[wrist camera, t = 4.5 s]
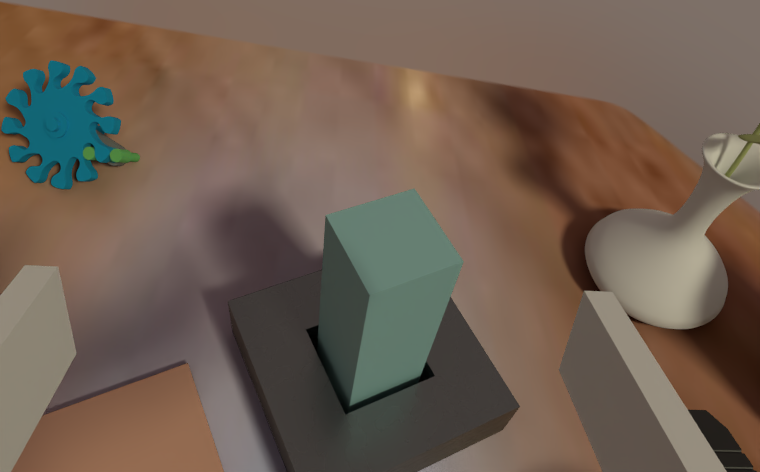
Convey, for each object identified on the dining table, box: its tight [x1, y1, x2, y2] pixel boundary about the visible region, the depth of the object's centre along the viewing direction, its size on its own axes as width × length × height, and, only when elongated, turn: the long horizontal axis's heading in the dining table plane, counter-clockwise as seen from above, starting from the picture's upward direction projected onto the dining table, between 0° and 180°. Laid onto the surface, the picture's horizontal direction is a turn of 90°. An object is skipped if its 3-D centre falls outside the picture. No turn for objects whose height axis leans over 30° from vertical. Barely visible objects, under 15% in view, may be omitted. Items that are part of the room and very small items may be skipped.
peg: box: [317, 189, 464, 414], centre depth 36 cm, size 5×5×16 cm
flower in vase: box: [585, 124, 760, 329], centre depth 41 cm, size 13×11×25 cm
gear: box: [1, 61, 140, 189], centre depth 50 cm, size 11×6×10 cm
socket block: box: [228, 270, 520, 472], centre depth 41 cm, size 14×14×4 cm
